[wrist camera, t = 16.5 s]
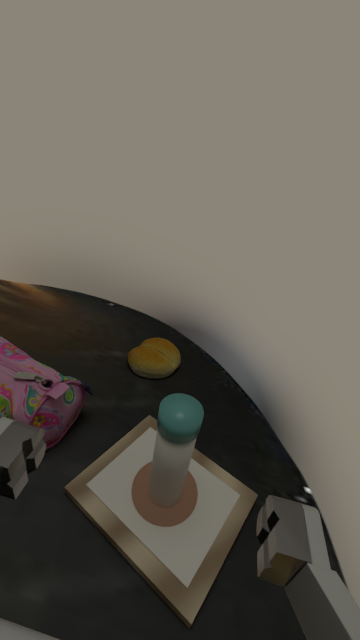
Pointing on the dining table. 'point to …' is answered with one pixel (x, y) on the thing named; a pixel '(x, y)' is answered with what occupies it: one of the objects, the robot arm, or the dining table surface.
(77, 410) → the pencil case
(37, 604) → the dining table surface
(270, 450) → the dining table surface
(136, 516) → the picture frame
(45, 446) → the robot arm
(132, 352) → the bread roll
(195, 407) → the marker
